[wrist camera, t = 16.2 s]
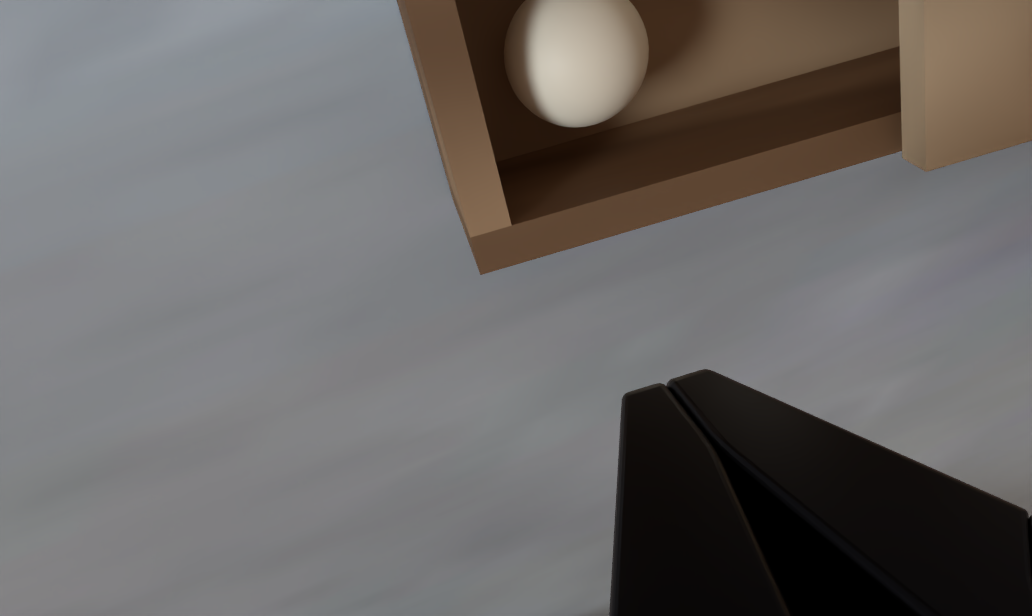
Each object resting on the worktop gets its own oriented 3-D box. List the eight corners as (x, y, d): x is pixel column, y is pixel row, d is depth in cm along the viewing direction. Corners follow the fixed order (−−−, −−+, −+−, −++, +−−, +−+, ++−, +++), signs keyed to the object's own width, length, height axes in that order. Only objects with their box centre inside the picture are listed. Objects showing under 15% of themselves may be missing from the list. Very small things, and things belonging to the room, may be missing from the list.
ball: (634, 85, 20) (678, 122, 18) (509, 121, 20) (537, 163, 18) (611, -49, 19) (656, -29, 17) (478, -12, 19) (502, 15, 16)
